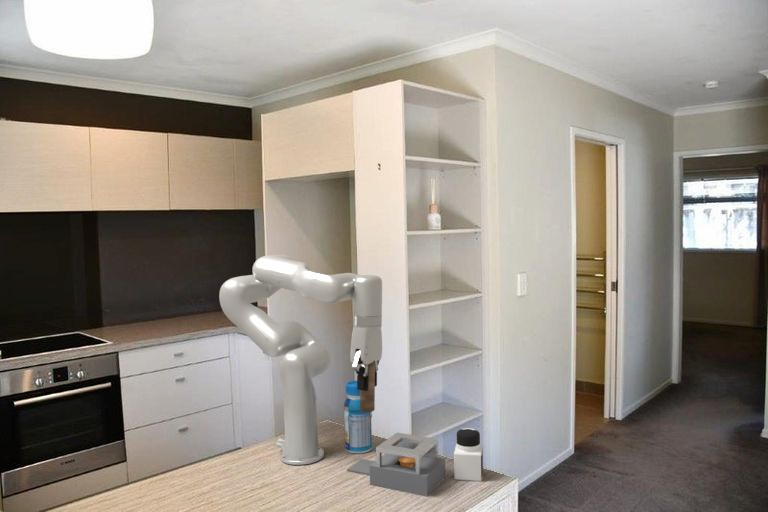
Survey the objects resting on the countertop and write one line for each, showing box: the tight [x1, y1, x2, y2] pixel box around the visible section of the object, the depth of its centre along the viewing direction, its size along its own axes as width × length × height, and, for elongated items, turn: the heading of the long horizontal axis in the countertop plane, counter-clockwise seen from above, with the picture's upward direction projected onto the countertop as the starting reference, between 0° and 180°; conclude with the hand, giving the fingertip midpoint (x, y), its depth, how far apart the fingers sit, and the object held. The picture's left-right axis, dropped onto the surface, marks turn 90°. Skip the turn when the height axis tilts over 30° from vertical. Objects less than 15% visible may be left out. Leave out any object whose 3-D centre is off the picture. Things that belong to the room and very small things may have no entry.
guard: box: [375, 432, 439, 475], centre depth 152 cm, size 12×12×5 cm
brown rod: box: [360, 360, 376, 413], centre depth 159 cm, size 4×4×16 cm
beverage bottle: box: [343, 380, 373, 455], centre depth 175 cm, size 8×8×20 cm
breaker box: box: [369, 453, 447, 497], centre depth 152 cm, size 16×12×5 cm
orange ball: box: [399, 456, 416, 468], centre depth 152 cm, size 5×5×6 cm
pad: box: [346, 458, 376, 476], centre depth 161 cm, size 8×8×1 cm
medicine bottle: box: [453, 427, 484, 482], centre depth 155 cm, size 7×7×12 cm
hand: (367, 387), depth 159 cm, fingers closed on brown rod, 4 cm apart
